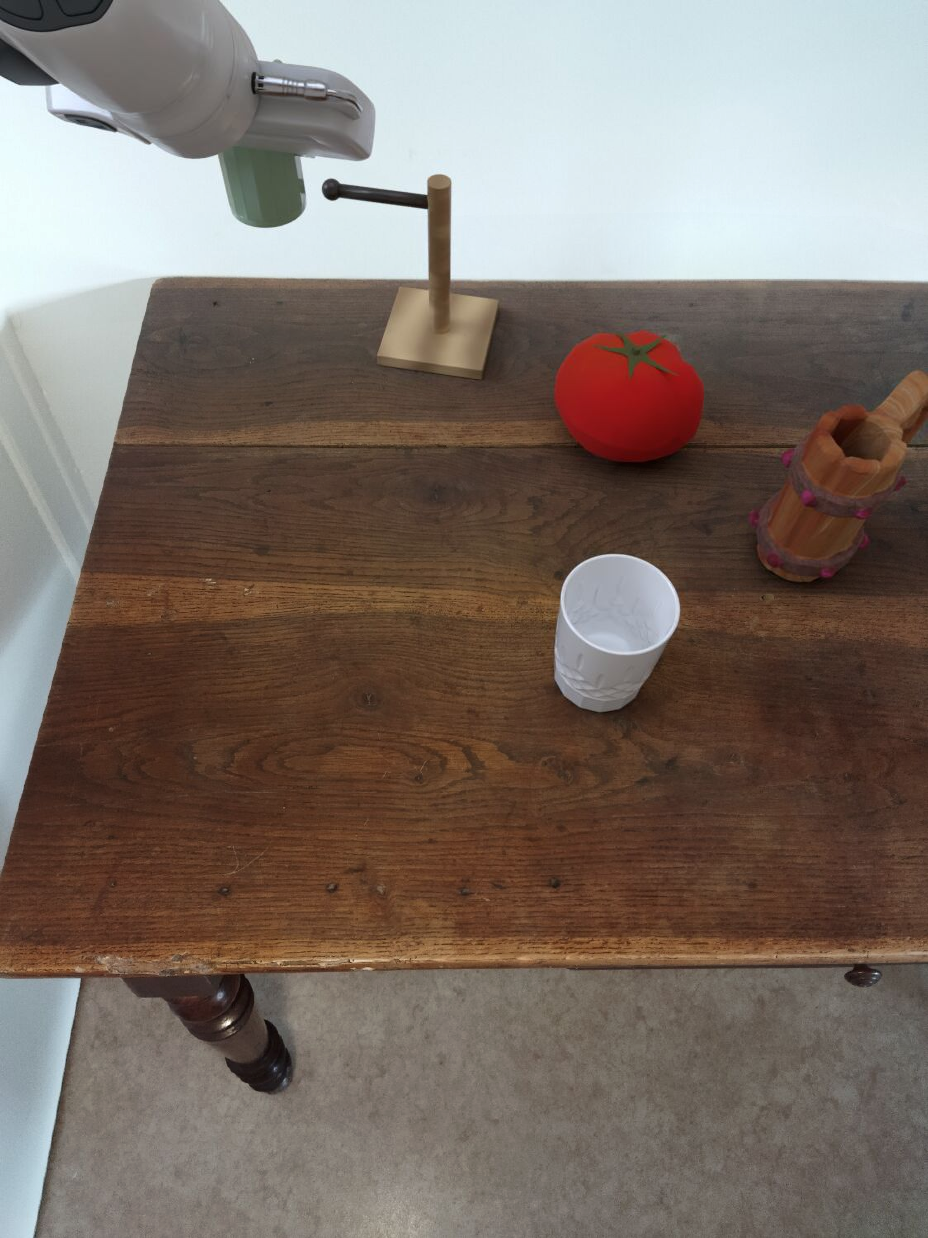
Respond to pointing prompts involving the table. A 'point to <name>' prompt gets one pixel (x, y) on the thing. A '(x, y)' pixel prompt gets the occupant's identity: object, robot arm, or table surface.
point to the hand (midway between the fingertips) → (259, 139)
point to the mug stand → (430, 294)
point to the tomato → (629, 396)
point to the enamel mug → (263, 185)
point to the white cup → (612, 629)
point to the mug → (838, 484)
